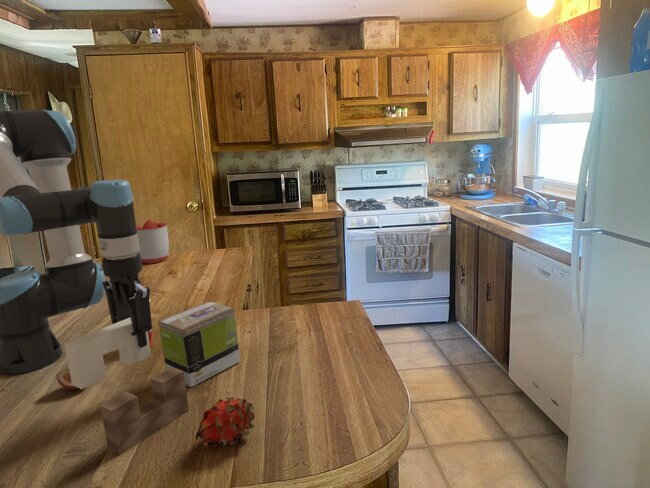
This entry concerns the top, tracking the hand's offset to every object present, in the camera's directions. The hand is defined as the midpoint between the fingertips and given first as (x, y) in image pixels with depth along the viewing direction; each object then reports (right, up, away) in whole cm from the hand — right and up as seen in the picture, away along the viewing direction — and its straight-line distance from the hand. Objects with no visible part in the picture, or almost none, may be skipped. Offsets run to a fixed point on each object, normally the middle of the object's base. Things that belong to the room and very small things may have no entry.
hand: (136, 356), depth 104 cm
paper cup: (-9, -4, +26) cm, 28 cm away
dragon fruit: (+24, -12, -16) cm, 31 cm away
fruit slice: (-16, -9, +6) cm, 19 cm away
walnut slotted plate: (+7, -11, -12) cm, 18 cm away
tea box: (+12, -6, +11) cm, 18 cm away
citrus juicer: (-40, +17, +120) cm, 128 cm away
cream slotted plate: (-3, -2, -4) cm, 6 cm away
